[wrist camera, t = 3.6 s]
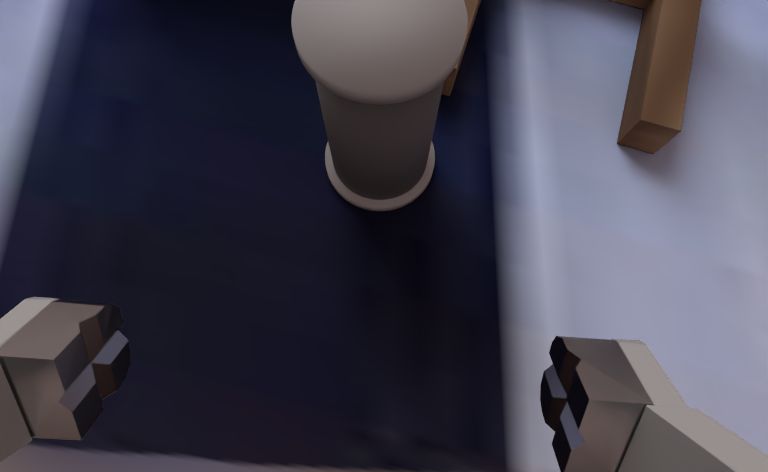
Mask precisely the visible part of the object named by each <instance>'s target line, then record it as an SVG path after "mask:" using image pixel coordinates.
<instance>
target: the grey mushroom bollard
mask: <svg viewBox="0 0 768 472" xmlns="http://www.w3.org/2000/svg"><path fill="white" fill-rule="evenodd" d="M291 24H292V33H293V37H294V41H295V45H296V48H297V52H298V55H299V57H300V60H301V62H302V64H303V65H304V67H305V68H306V70H307V71H308V73H309V74H310V75H311V76H312V77H313V78H314V79H315V81H316V86H317V91H318V95H319V100H320V105H321V109H322V114H323V119H324V123H325V128H326V133H327V137H328V143H327V146H326V151H325V164H326V169H327V173H328V176H329V179H330V181H331V184H332V185H333V187H334V189H335V190H336V191H337V192H338V194H339V195H340V196H342V197H343V198H344V199H345V200H346V201H348V202H349V203H351V204H353V205H355V206H357V207H359V208H362V209H366V210H370V211H390V210H395V209H398V208H401V207H403V206H406V205H407V204H409V203H411V202H412V201H414V200H415V199H416V198H418V197H419V196H420V195H421V194H422V192H423V191H424V190H425V189H426V187H427V185H428V184H429V182H430V179H431V177H432V173H433V169H434V164H435V151H434V146H433V143H432V137H433V132H434V127H435V122H436V118H437V113H438V108H439V103H440V98H441V94H442V89H443V84H444V80H445V79H446V78H447V77H448V76H449V74H450V73H451V72H452V71H453V69H454V68H455V66H456V64H457V63H458V61H459V58H460V56H461V54H462V50H463V46H464V42H465V38H466V34H467V26H468V17H467V10H466V6H465V2H464V0H295V2H294V6H293V10H292V20H291Z"/></svg>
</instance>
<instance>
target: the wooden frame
mask: <svg viewBox="0 0 768 472" xmlns="http://www.w3.org/2000/svg"><path fill="white" fill-rule="evenodd" d="M610 1H614V2H618V3H622V4H626V5H629V6H633V7H637V8H641V9H644V11H643V16H642V21H641V26H640V31H639V36H638V41H637V46H636V51H635V56H634V61H633V66H632V71H631V76H630V81H629V86H628V91H627V96H626V101H625V106H624V111H623V116H622V121H621V126H620V131H619V136H618V141H617V144H620V145H623V146H627V147H630V148H634V149H638V150H641V151H645V152H648V153H652V154H654V153H655V152H656V151H658V150H659V149H660V148H661V147H662V146H664V145H665V144H666V143H667V142H668V141H669V140H671V139H672V138H673V137H674V136H675V135H677V134H678V133H679V132H680V131H681V127H682V121H683V114H684V108H685V102H686V95H687V89H688V83H689V76H690V70H691V64H692V57H693V51H694V45H695V38H696V32H697V25H698V19H699V13H700V6H701V0H610ZM464 2H465V6H466V10H467V17H468V26H467V34H466V38H465V42H464V46H463V50H462V54H461V56H460V58H459V61H458V63H457V64H456V66H455V68H454V69H453V71H452V72H451V73H450V74H449V76H448V77H447V78H446V79H445V80H444V84H443V89H442V95H446V96H449V97H450V94H451V91H452V88H453V85H454V82H455V79H456V76H457V73H458V70H459V67H460V64H461V60H462V57H463V54H464V51H465V48H466V45H467V42H468V39H469V36H470V33H471V30H472V27H473V24H474V21H475V18H476V14H477V11H478V8H479V5H480V2H481V0H464Z"/></svg>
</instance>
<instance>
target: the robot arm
mask: <svg viewBox="0 0 768 472" xmlns="http://www.w3.org/2000/svg"><path fill="white" fill-rule="evenodd" d="M122 324H123V318H122V315H121V312H120V308H119V307H117V306H116V305H114V304H111V303H100V302H90V301H79V300H69V299H55V298H43V297H32V298H28V299H25V300H23V301H22V302H21V303H20V304H18V305H17V306H16V307H15V308H13V309H12V310H11V311H10V312H9V313H7V314H6V315H5V316H4V317H2V318H1V319H0V462H1V461H3V460H4V459H6V458H7V457H8V456H10V455H11V454H13V453H14V452H16V451H17V450H19V449H20V448H22V447H23V446H25V445H26V444H27V443H29V442H30V441H32V438H50V439H71V440H82V439H83V437H84V436H85V435H86V433H87V432H88V430H89V429H90V428H91V426H92V425H93V423H94V422H95V421H96V419H97V418H98V417H99V415H100V414H101V412H102V411H103V403H102V399H104V398H105V397H107V396H109V395H110V394H112V393H114V392H116V391H117V390H118V389H119V387H120V386H121V384H122V383H123V381H124V380H125V378H126V375H127V372H128V369H129V366H130V358H131V351H130V346H129V342H128V340H127V339H126V338H125V337H124V336H123V335H122V334H121V333H120V332H119V331H118V330H119V328H120V327H121V325H122ZM549 354H550V357H551V359H552V362H553V365H551V366H550V367H549V368H548V369H546V370H545V371H544V374H543V378H542V382H541V395H540V401H541V407H542V413H543V416H544V420H545V423H546V424H547V425H548V426H549V427H551V428H552V429H553V430H554V431H555V435H554V438H553V442H552V445H553V449H554V452H555V455H556V458H557V461H558V464H559V467H560V470H561V472H768V456H767V455H766V454H764V453H763V452H761V451H760V450H758V449H757V448H756V447H754V446H753V445H751V444H750V443H748V442H747V441H745V440H744V439H742V438H741V437H739V436H738V435H736V434H735V433H733V432H732V431H730V430H729V429H727V428H726V427H724V426H723V425H721V424H720V423H718V422H717V421H715V420H714V419H712V418H711V417H709V416H708V415H706V414H705V413H703V412H702V411H700V410H699V409H692V408H688V407H687V405H686V404H685V402H684V401H683V399H682V398H681V396H680V395H679V393H678V392H677V390H676V389H675V387H674V386H673V384H672V383H671V381H670V380H669V378H668V377H667V375H666V374H665V372H664V371H663V369H662V368H661V366H660V365H659V363H658V362H657V360H656V359H655V357H654V356H653V354H652V353H651V351H650V350H649V348H648V347H647V345H646V344H645V343H643V342H642V341H640V340H624V339H611V340H607V339H592V338H578V337H563V336H556V337H555V339H554V341H553V342H552V345H551V348H550V352H549Z"/></svg>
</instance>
